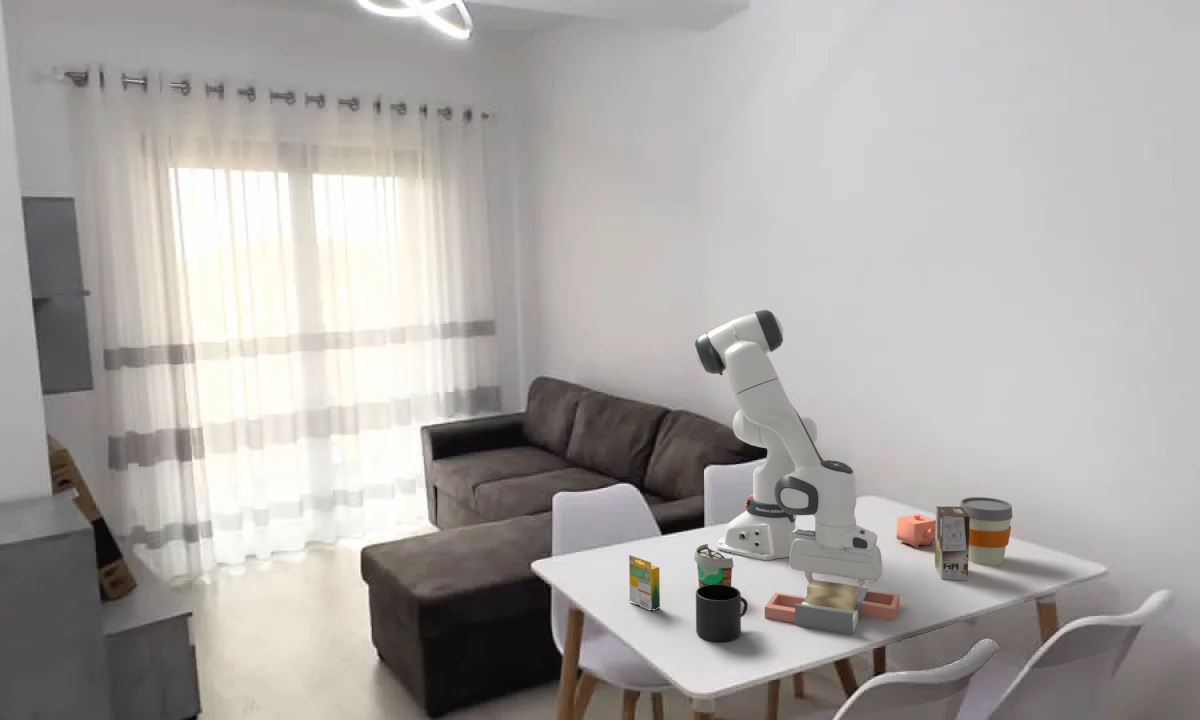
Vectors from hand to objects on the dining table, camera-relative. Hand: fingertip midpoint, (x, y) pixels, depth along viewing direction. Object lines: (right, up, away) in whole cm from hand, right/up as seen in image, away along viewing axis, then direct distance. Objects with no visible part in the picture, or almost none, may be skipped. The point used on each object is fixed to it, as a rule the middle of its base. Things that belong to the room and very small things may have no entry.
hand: (834, 593), depth 190 cm
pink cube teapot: (+35, +1, +43) cm, 55 cm away
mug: (-27, -6, -10) cm, 29 cm away
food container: (-27, -3, +11) cm, 29 cm away
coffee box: (+35, -1, +20) cm, 40 cm away
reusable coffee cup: (+47, 0, +30) cm, 56 cm away
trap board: (-1, -4, -1) cm, 4 cm away
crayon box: (-43, -4, +5) cm, 43 cm away
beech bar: (-1, -2, -3) cm, 3 cm away
